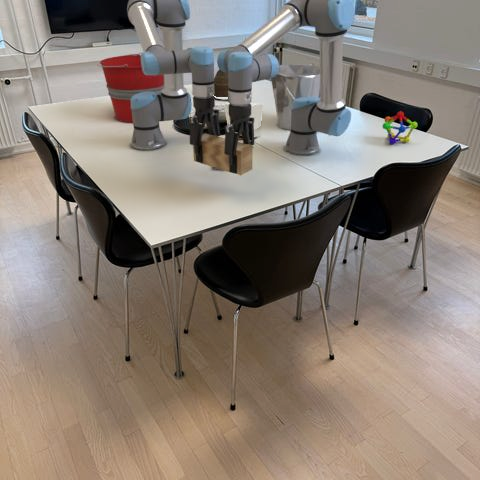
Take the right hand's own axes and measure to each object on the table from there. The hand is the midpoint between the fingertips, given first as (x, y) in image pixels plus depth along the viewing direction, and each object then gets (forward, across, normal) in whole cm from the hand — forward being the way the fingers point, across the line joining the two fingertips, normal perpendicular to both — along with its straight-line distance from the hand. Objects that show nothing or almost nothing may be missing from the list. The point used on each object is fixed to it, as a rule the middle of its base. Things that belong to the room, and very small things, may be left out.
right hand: (239, 169), depth 156 cm
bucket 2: (+11, +85, +27) cm, 89 cm away
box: (0, 0, +8) cm, 8 cm away
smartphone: (+11, +20, +24) cm, 34 cm away
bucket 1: (+11, +46, +105) cm, 115 cm away
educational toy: (+11, +90, -25) cm, 94 cm away
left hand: (0, 0, +16) cm, 16 cm away
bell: (+11, +108, +91) cm, 141 cm away
